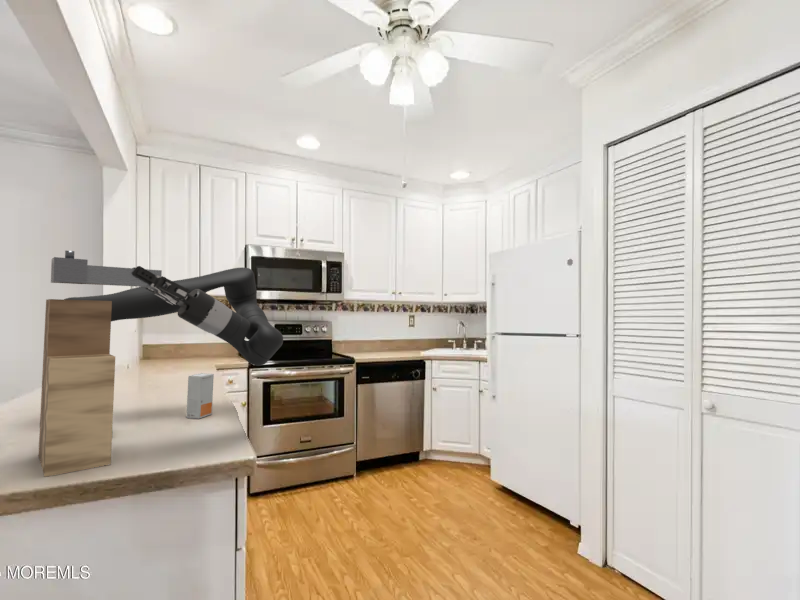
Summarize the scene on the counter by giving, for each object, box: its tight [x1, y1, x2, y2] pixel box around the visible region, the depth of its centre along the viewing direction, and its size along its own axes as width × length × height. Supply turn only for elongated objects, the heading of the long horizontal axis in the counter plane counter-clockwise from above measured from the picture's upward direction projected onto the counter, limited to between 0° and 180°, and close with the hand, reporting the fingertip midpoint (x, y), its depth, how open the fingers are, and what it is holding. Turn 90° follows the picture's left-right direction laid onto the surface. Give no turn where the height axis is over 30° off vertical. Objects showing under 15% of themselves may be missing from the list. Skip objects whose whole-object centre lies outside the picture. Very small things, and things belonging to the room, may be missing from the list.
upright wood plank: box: [37, 298, 116, 478], centre depth 87 cm, size 15×10×32 cm, turn 43°
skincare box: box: [185, 372, 215, 420], centre depth 124 cm, size 6×4×12 cm
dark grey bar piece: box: [50, 250, 162, 287], centre depth 87 cm, size 5×18×6 cm, turn 133°
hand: (132, 270), depth 90 cm, fingers closed on dark grey bar piece, 3 cm apart
